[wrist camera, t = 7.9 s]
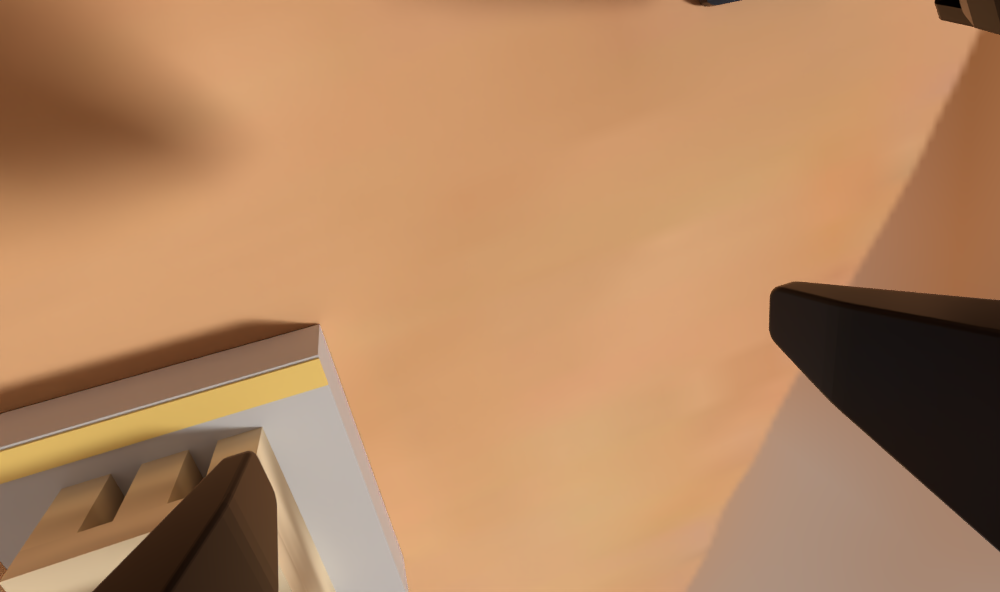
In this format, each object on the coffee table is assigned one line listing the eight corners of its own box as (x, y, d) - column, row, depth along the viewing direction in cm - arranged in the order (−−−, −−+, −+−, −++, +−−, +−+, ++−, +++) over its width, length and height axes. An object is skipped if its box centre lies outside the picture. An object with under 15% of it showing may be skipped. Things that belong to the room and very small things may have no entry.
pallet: (61, 488, 17) (-2, 582, 14) (262, 426, 18) (246, 499, 15) (172, 653, 20) (142, 760, 17) (336, 592, 21) (336, 681, 18)
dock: (319, 324, 20) (317, 356, 17) (403, 557, 25) (410, 606, 22) (-22, 419, 18) (-76, 471, 15) (143, 653, 22) (121, 719, 20)
